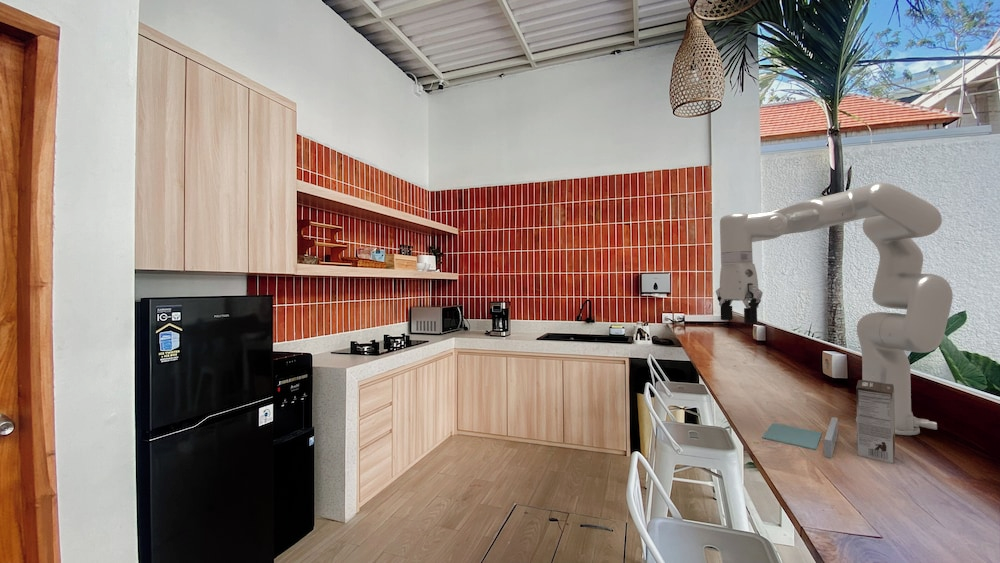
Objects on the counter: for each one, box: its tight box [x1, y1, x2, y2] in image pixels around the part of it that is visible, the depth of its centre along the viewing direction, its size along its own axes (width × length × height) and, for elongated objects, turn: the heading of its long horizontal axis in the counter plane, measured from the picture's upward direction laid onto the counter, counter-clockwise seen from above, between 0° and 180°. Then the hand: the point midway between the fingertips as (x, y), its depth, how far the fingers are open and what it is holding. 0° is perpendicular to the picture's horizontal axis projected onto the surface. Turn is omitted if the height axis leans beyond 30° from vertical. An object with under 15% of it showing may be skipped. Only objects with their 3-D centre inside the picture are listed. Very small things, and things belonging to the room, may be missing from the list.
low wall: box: [824, 417, 839, 459], centre depth 99 cm, size 1×20×4 cm, turn 136°
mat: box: [761, 422, 823, 451], centre depth 104 cm, size 11×14×1 cm
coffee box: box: [855, 379, 896, 464], centre depth 93 cm, size 9×6×16 cm
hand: (738, 321), depth 109 cm, fingers open, 9 cm apart
